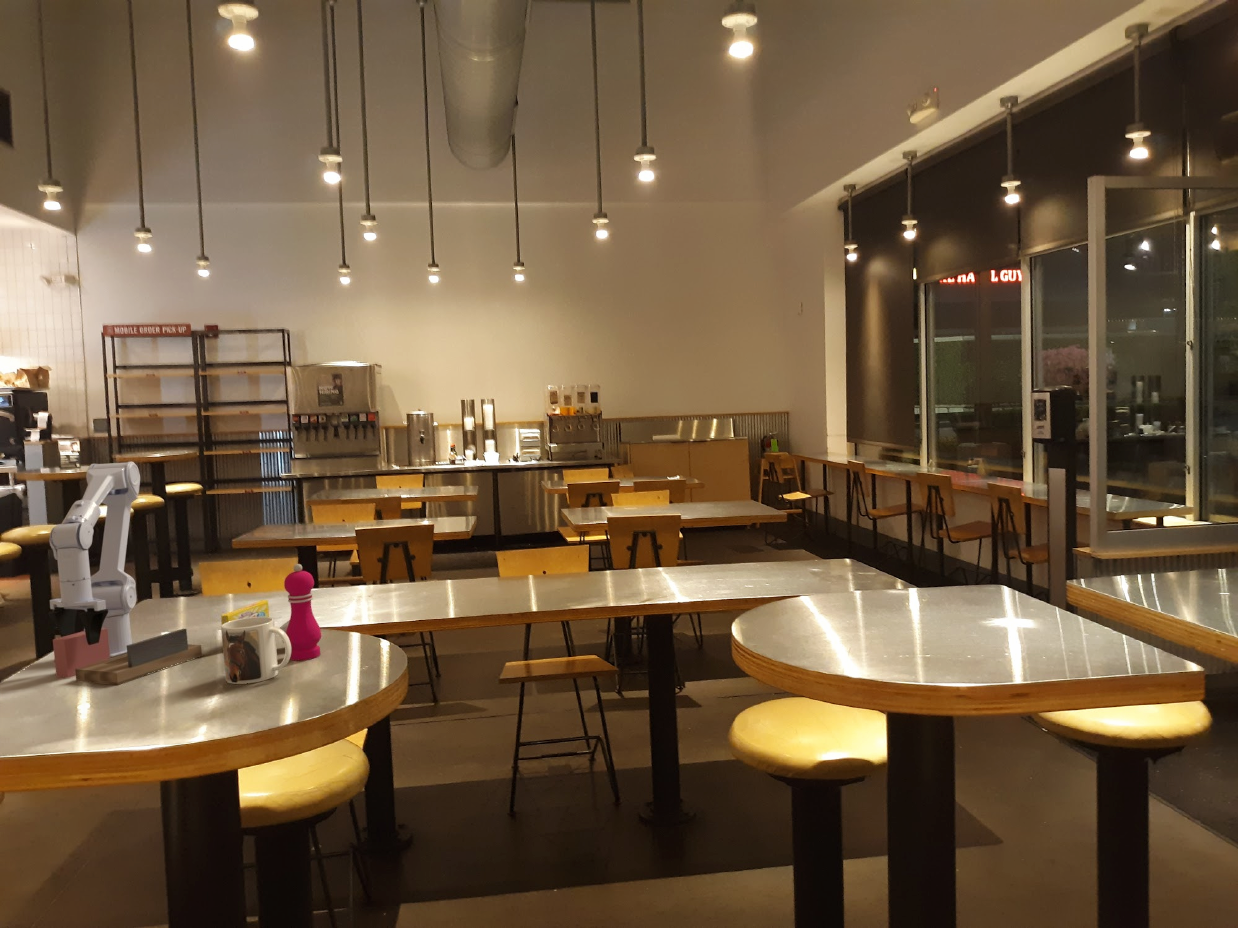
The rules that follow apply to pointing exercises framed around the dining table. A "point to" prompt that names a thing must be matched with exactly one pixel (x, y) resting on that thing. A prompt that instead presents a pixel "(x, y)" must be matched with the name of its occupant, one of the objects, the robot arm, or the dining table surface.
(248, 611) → the candy box
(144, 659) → the dark gray flat bar
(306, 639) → the pepper mill
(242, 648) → the mug
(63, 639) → the pink rectangular block
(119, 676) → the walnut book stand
